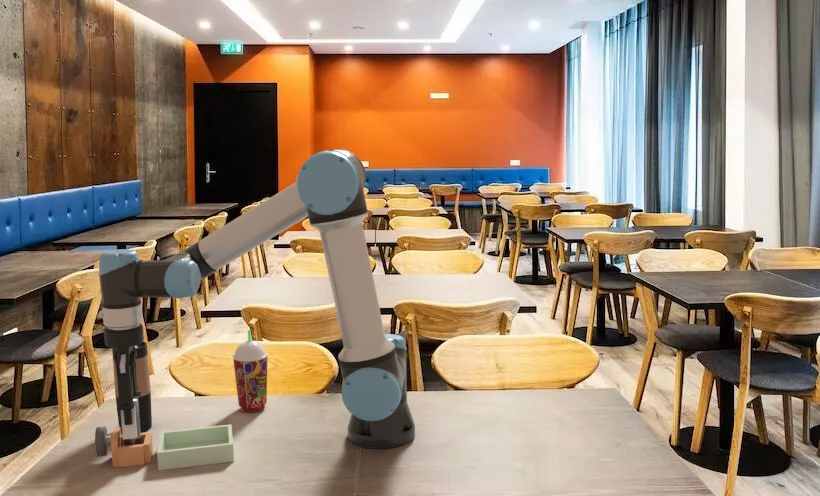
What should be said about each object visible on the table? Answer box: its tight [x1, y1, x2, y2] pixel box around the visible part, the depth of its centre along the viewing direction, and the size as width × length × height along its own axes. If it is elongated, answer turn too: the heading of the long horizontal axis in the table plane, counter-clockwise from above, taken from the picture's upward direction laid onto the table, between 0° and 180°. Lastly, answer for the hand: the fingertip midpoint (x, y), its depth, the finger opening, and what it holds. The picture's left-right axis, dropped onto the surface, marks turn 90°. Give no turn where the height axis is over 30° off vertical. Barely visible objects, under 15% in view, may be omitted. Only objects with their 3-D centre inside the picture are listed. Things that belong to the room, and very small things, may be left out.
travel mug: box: [111, 341, 153, 434], centre depth 175 cm, size 8×8×20 cm
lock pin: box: [121, 397, 141, 446], centre depth 160 cm, size 4×4×13 cm
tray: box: [156, 424, 235, 471], centre depth 162 cm, size 15×11×4 cm
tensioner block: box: [94, 426, 154, 468], centre depth 160 cm, size 10×7×8 cm
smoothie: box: [232, 329, 269, 413], centre depth 187 cm, size 8×8×20 cm
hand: (131, 432), depth 160 cm, fingers open, 5 cm apart
